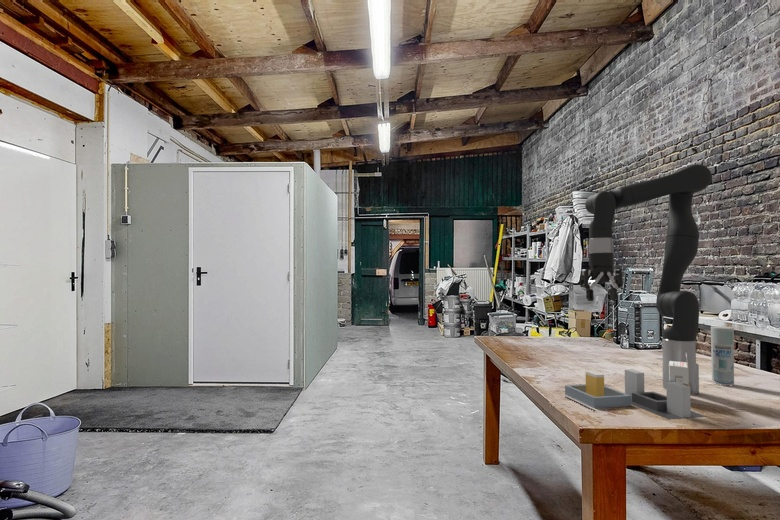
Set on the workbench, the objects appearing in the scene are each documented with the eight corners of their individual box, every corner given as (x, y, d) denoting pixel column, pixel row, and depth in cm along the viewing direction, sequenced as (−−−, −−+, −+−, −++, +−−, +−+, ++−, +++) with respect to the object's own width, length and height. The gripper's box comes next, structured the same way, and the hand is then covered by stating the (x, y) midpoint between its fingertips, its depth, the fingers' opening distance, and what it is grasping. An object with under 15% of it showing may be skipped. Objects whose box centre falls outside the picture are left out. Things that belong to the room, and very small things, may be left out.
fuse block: (644, 397, 138) (643, 368, 138) (707, 420, 117) (706, 386, 117) (610, 399, 136) (610, 369, 136) (668, 423, 114) (668, 388, 114)
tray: (599, 395, 139) (599, 383, 140) (631, 409, 126) (631, 395, 126) (565, 397, 137) (564, 385, 137) (594, 411, 123) (594, 398, 124)
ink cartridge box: (669, 398, 137) (668, 350, 138) (688, 400, 135) (687, 352, 135) (669, 404, 130) (668, 355, 130) (689, 407, 127) (689, 356, 128)
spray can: (733, 383, 156) (732, 326, 156) (735, 387, 150) (734, 328, 151) (710, 380, 159) (710, 325, 160) (712, 384, 154) (711, 327, 154)
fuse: (593, 397, 135) (593, 370, 135) (604, 401, 130) (604, 374, 130) (585, 397, 135) (585, 371, 135) (596, 402, 130) (596, 374, 130)
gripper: (611, 252, 152) (612, 299, 151) (574, 252, 149) (575, 300, 148) (627, 251, 144) (628, 301, 144) (589, 251, 141) (590, 301, 141)
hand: (601, 300), depth 146 cm, fingers open, 8 cm apart
